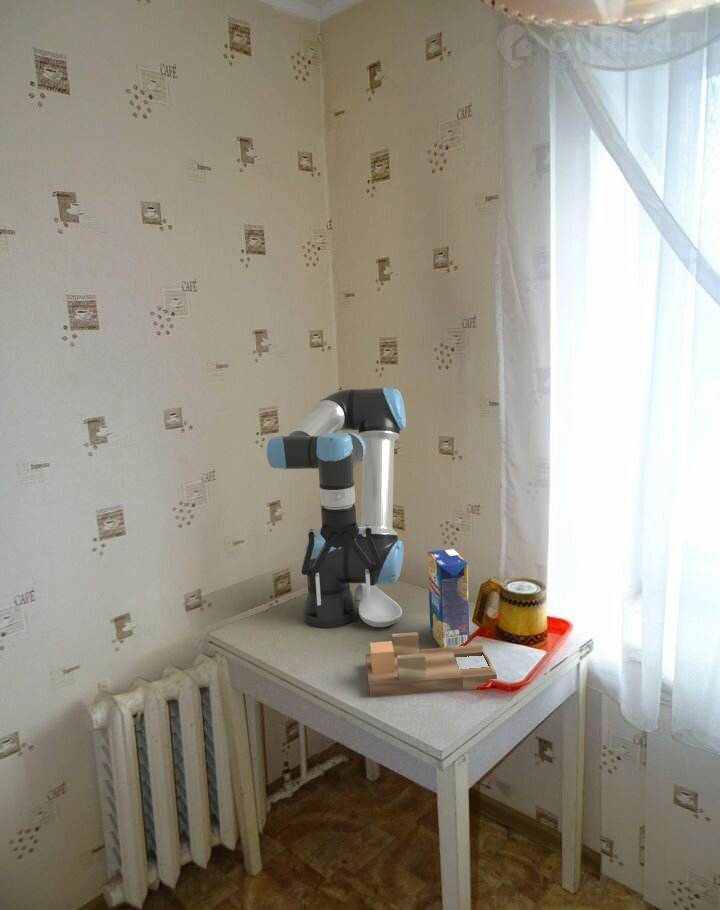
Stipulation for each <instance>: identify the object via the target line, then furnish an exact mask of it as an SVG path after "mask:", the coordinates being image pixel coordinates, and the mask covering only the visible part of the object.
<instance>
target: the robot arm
mask: <svg viewBox="0 0 720 910" xmlns="http://www.w3.org/2000/svg"><path fill="white" fill-rule="evenodd" d="M405 410H406V409H405V404H404V400H403V396H402V393H401V391H400V390H398V388H387V387H381V388H380V387H378V388H362V389H360V388H357V389H356V388H355V389H353V388H352V389H351V388H349V389H348V388H347V389H342V390H341V391H339V390H338V391H337V392H334V393H331V394H330V395H327V396H326V397H324V398H321V399H320V401H318V402H317V403H316V404H314V405H313V407H312V409H311V413H310V415H308V416H307V417H306V418H305V419H304V420H303V421H302V422H300V424H299V425H298V426H297V427H295V428H294V429H293V430H292V431H291V432H290V433H289V434H288V435H286V436H283V435H279V436H273V437H271V438H269V440H268V442H267V446H266V458H267V463H268V464H269V466H270V467H271V468H273V469H283V470H292V469H293V470H296V469H297V470H299V469H301V470H302V469H305V470H306V469H312V470H313V469H318V471H317V472H318V481H319V497H320V498H319V499H320V506H321V508H320V514H321V527H320V529H313V528H310V529H308V535H307V536H308V540H307V542H306V544H305V554H304V558H303V562H302V565H301V574H302V575H303V576H306V580H307V581H306V582H307V583H306V584H307V594H306V599H305V603H304V607H303V621H304V622H305V623H306V624H307V625H309V626H311V627H312V626H313V627H317V628H323V629H324V628H326V629H327V628H329V629H330V628H331V629H332V628H337V627H338V628H339V627H342V626H346V625H348V624H350V623H353V621H355V620H356V619H357V618H358V615H359V613H358V606H357V603H356V600H354V596H353V592H352V590H351V587H350V584H360V583H362V584H366V591H367V601H368V602H369V601H371V591H370V586H374V585H375V586H376V585H379V586H380V585H392V584H395V583H396V582H397V581H398V579H399V578H400V575H401V571H402V569H403V568H402V567H403V563H404V555H405V554H404V553H405V552H404V548H405V547H404V545H405V544H404V542H403V541H402V540H400V539H398V537H399V534H398V533H397V531H396V530H394V528H393V521H394V519H393V518H394V517H393V515H394V514H393V513H394V508H393V507H394V475H395V474H394V468H395V465H394V464H395V442H396V441H398V439H399V438H400V436H401V431H403V430H405V429H406V427H407V425H406V423H407V417H406V411H405ZM340 431H358V434H356V433H354V432H340ZM361 462H362V478H361V479H362V483H361V484H362V487H361V488H362V490H361V517H360V519H361V521H360V523H361V524H360V526H359V525H358V523H357V509H356V505H355V503H356V493H355V491H356V490H355V480H354V478H355V477H354V469H355V467H356V466H357V465H359V464H360V463H361Z"/></svg>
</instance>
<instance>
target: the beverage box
mask: <svg viewBox="0 0 720 910" xmlns="http://www.w3.org/2000/svg"><path fill="white" fill-rule="evenodd" d="M427 569H428V571H427V573H428V595H429V596H428V598H429V599H428V600H429V602H428V605H429V606H428V607H429V629H430V630H429V632H430V634H431V635H432V636H433V638H434V640H435V641H436V642H437V644H438V645H439V648H447V647H459V646H460V645H461V644H463V643H465V642H466V641H467V640H469V641H470V619H469V618H470V617H469V616H470V615H469V614H470V613H469V612H470V611H469V609H470V608H469V576H468V575H469V572H468V571H469V570H468V562H467V561H466V560H465V559H464V558H463V557H462V556H461V554H459V553H458V552H457V551H456V550H455V549H454V548H449V549H442V550H432V551H427Z"/></svg>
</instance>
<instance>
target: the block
mask: <svg viewBox="0 0 720 910" xmlns="http://www.w3.org/2000/svg"><path fill="white" fill-rule="evenodd" d="M369 649H370V650H369V651H370V653H371V666H372V673H373V674H376V673H389V672H395V664H394V650H393V642H392V640H389V641H388V640H387V641H377V642H369Z"/></svg>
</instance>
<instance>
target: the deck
mask: <svg viewBox="0 0 720 910" xmlns="http://www.w3.org/2000/svg"><path fill="white" fill-rule="evenodd" d="M391 637H392V639H391V641H392V645H393V650H394V664H395V672H389V673H376V674H373V673H372V666H371V653H365V667H366V674H367V675H366V676H367V682H368V689H369V696H370V698H377V697H391V696H401V695H412V694H427V693H438V692H440V693H441V692H450V691H451V692H452V691H463V690H465V691H466V690H474V689H475V690H477V687H478V686H481V685H482V686H483V685H485V684H487V682H486V681H487V680H489V679H497V680H498V677H497V675H498V674H497V672H496V669H495V668H494V667H493V665H492V662H491V660H490V659H489V656H488V654H487V653H486V651H485V649H484V647H483V644H477V645H476V644H475V645H469V646H460V647H447V648H441V647H436V648H423V649H420V645H419V644H420V643H419V642H420V641H419V633H418V631H416V632H403V633H402V632H400V633H392V634H391ZM482 655H483V656H484V658H485V660H486V662H487V664H488V666H489V667H481V668H469V669H459V666H458V664H457V661H456V659H455V658H456V657H467V656H468V657H469V656H482Z"/></svg>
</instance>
